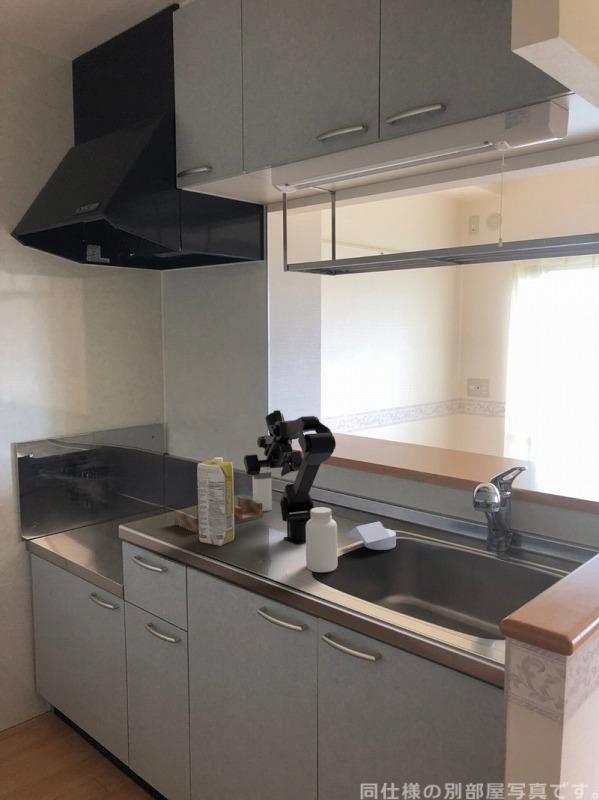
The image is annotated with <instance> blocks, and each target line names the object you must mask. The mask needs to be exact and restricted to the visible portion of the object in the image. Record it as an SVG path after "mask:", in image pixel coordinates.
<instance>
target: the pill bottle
mask: <svg viewBox="0 0 599 800" xmlns="http://www.w3.org/2000/svg"><path fill="white" fill-rule="evenodd" d="M310 516H311V519H309V521H308V522H307V523H306V542H305V565H306V568H307V569H308V571H311V572H314V573H315V572H316V573H330V572H333V571H335V570H336V569H337V568H338V524H337V522H336V521H335V520H334V519H333V516H332V509H331V508H330V507H324V506H320V507H318V506H317V507H314V508H313V509H311V510H310Z"/></svg>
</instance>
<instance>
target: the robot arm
mask: <svg viewBox="0 0 599 800" xmlns="http://www.w3.org/2000/svg"><path fill="white" fill-rule="evenodd" d="M264 420H265V423H266V427H267V431H268V434H267V435H263V436H258V437H257V440H256V441H257V442H256V443H257V446H258V448H260V449H262V448H263V449H264V451H263V455H264V456H265V459H259V456H258V454H256V453H253V454H245V455H244V456H243V464H244V467H245V473H246V474H247V475H249V476H253V475H254V479H257V477H258V476H259V475H260V470H261V469H268V468H269V469H281V468H282V469H281V471H280V476H281V477H282V478H283V477H285V476H287V475H289V474H293V473H295V472H297V474H296V477H295V480H294V482H293V483H291V484H290V483H289V484H286V485H285V486H284V490H283V492H282V496H281V498H280V502H279V506H280V512H281V519H282V520H281V521H283V522H286V533H287V534H286V535H287V536H283V540H285V541H288V542H290V543H293V544H295V545H301V544H303V543H306V523H307V522H308V521H309V520H310V519H311V516H310V510H311V509H313V508H315V505H314V503H313V499H312V496H311V493H310V492H311V489H312V488H313V484H314V481H315V479H316V477H317V474H318V472H319V470H320V467H321V464H322V463H324V462H325V461H327V460H328V459H330V458H331V456H333V453H334V451H335V449H336V446H337V445H336V444H337V442H336V439H335V436H334V434H333V433H332V430H331V429H330V428H329V427H328V426H326V425H325V424H324V423H322V422H321V421H320V419H319V418H318V417H317V416H315V415H307V416H300V417H297V418H296V419H294V420H285V417H284V414H283V413H282V412H281V410H278V409H277V410H273V411H272V412H271V413H268V415H267V416H265V417H264ZM313 431H314V432H315V433H308V432H313ZM304 433H305V434H304ZM293 440H297V442H298V445H299V446H300V448H301V451H302V452H301V451H300V450H293V446H292V445H293ZM302 453H303V455H302Z"/></svg>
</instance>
